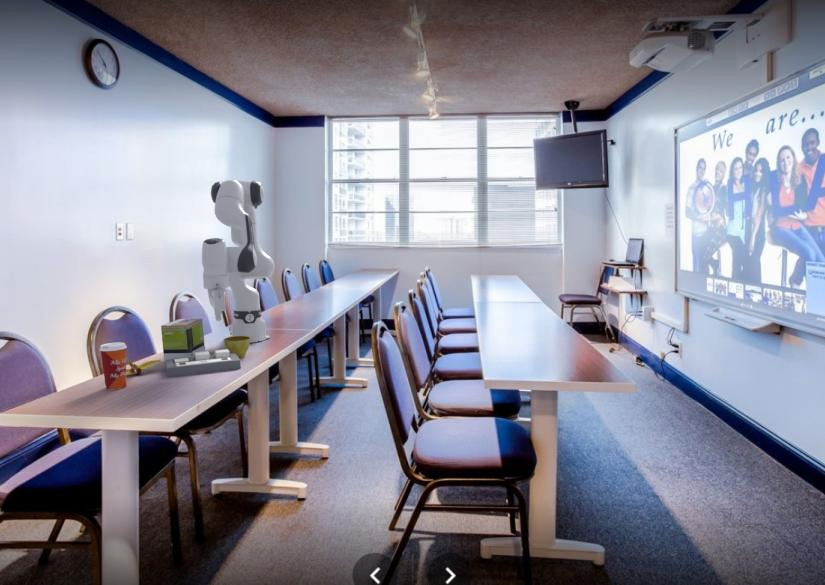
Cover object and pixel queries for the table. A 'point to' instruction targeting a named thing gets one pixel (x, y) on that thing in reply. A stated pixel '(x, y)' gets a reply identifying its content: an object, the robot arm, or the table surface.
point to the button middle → (202, 356)
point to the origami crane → (139, 366)
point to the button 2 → (222, 353)
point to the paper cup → (114, 364)
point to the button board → (202, 365)
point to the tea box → (182, 338)
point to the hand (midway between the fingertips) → (218, 320)
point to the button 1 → (181, 360)
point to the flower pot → (237, 344)
